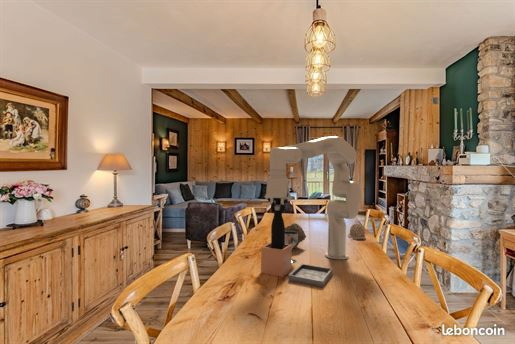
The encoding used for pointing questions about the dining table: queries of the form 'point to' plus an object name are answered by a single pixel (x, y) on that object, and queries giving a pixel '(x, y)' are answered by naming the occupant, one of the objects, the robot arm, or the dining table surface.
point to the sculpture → (357, 232)
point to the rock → (297, 229)
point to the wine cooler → (276, 260)
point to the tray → (311, 275)
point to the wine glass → (291, 239)
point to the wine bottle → (277, 227)
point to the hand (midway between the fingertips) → (278, 212)
